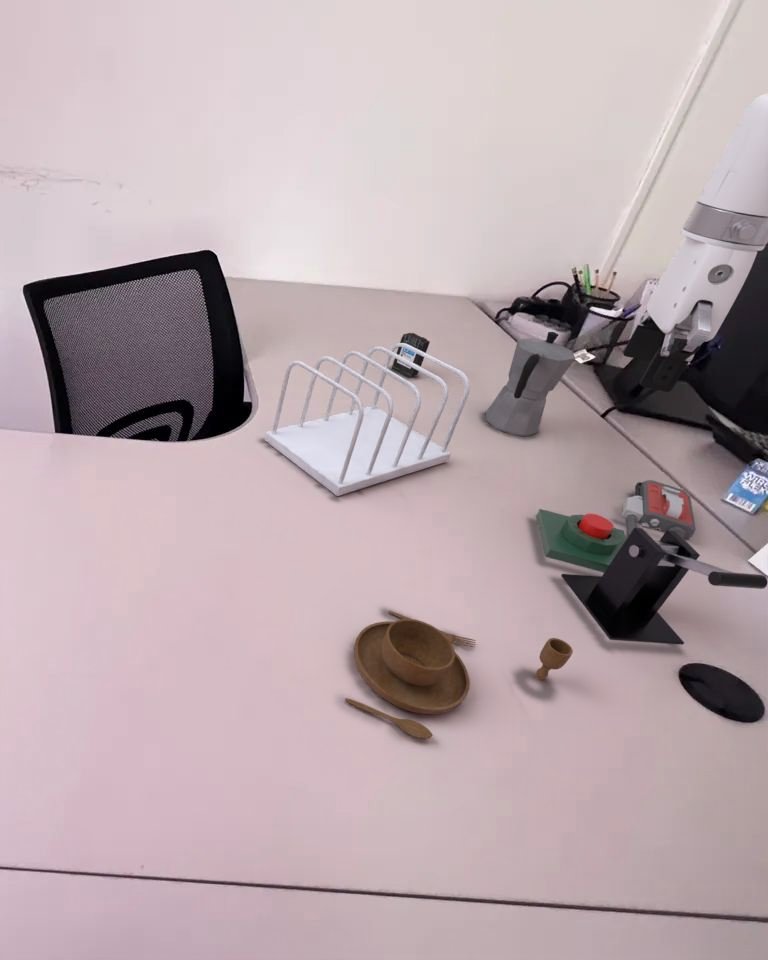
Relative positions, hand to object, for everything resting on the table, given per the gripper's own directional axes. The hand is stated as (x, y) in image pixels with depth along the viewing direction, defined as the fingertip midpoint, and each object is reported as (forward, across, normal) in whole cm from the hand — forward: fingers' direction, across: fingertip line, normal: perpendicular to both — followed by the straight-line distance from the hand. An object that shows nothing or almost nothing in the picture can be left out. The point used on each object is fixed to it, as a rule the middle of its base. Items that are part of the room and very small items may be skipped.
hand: (644, 372), depth 82 cm
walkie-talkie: (+26, +11, -15) cm, 32 cm away
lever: (+15, -18, -8) cm, 25 cm away
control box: (+26, -2, -4) cm, 26 cm away
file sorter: (+26, +9, +29) cm, 40 cm away
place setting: (+26, -36, +14) cm, 47 cm away
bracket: (+26, -13, -6) cm, 30 cm away
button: (+22, -2, -4) cm, 23 cm away
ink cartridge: (+26, +48, +23) cm, 59 cm away
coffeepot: (+26, +34, +4) cm, 43 cm away
